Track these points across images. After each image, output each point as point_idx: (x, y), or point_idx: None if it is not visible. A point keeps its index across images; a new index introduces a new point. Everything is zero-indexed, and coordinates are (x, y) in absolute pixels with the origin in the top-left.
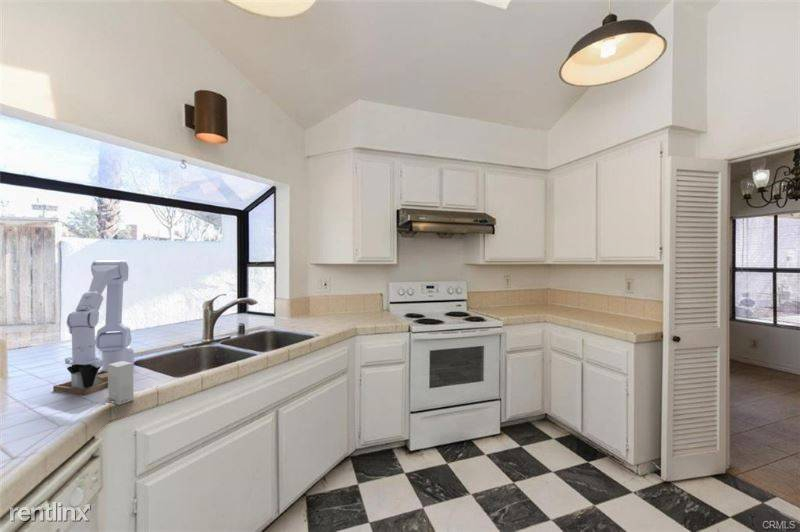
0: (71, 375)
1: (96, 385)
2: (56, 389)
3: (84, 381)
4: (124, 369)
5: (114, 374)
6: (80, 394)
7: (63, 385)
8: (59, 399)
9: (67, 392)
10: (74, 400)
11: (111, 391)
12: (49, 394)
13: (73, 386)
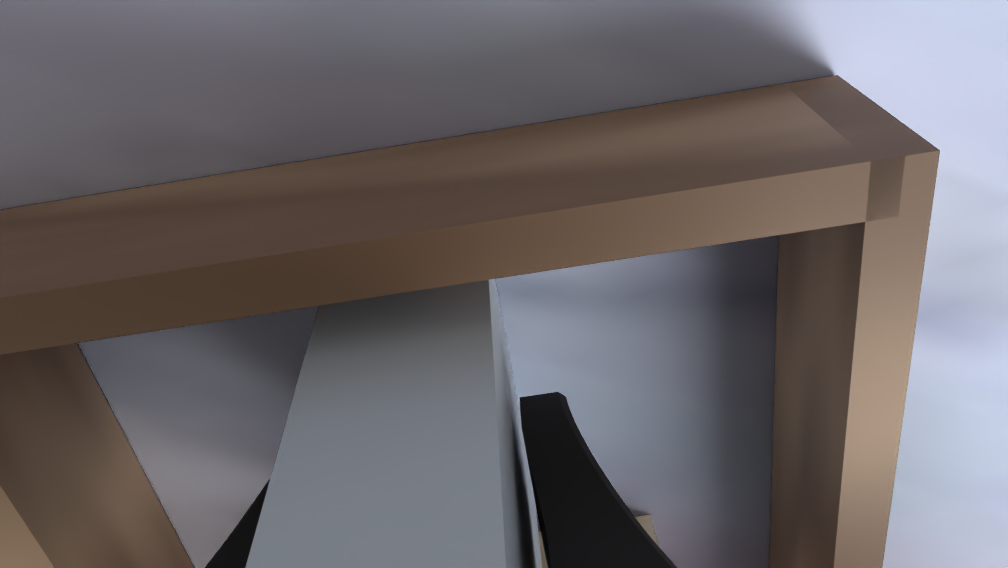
0: (497, 549)
1: (18, 535)
2: (793, 139)
3: (245, 525)
4: None
5: None
6: (16, 243)
7: (837, 297)
8: (435, 9)
9: (423, 183)
10: (77, 115)
11: None
12: (976, 60)
13: (425, 338)
